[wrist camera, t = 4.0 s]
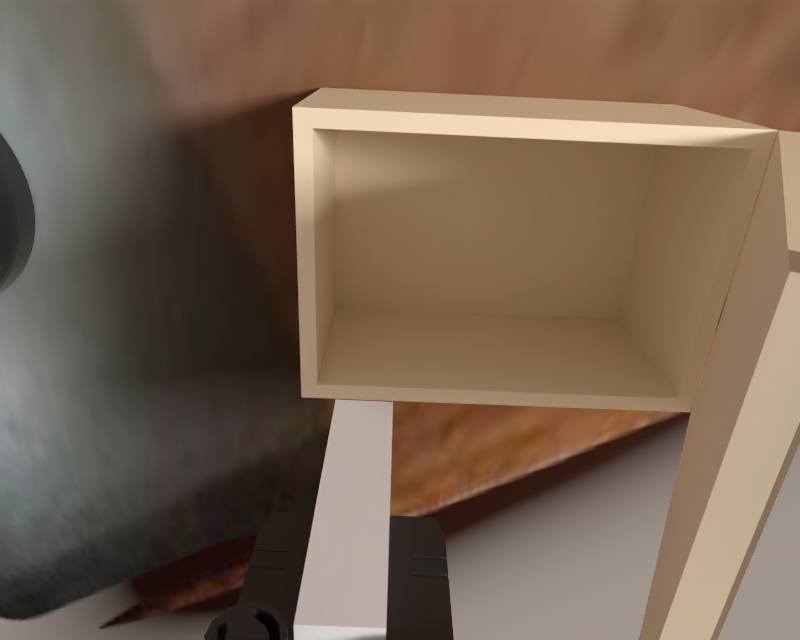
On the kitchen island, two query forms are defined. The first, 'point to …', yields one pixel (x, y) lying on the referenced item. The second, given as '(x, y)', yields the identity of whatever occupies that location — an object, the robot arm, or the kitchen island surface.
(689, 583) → the lid
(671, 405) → the carton
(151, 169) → the kitchen island surface
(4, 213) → the robot arm
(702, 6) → the kitchen island surface
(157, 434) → the kitchen island surface
